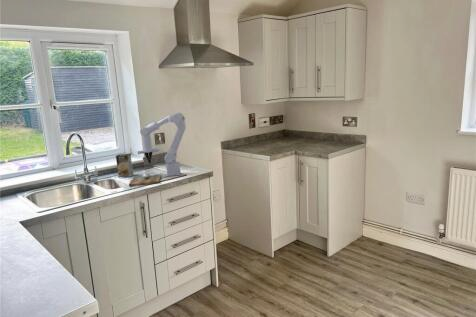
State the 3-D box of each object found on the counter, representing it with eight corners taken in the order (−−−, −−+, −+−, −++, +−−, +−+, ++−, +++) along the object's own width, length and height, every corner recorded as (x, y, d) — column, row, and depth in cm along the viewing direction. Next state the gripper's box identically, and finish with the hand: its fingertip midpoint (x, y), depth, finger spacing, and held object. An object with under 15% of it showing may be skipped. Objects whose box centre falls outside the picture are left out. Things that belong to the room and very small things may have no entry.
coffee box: (118, 177, 256) (114, 155, 253) (121, 175, 263) (118, 154, 259) (130, 176, 255) (127, 155, 252) (133, 174, 262) (130, 153, 258)
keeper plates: (150, 175, 249) (150, 175, 249) (149, 179, 238) (148, 179, 238) (144, 176, 249) (144, 175, 248) (142, 180, 237) (142, 179, 237)
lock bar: (147, 178, 238) (147, 174, 238) (143, 178, 238) (143, 175, 237) (149, 174, 248) (148, 171, 248) (145, 175, 248) (145, 171, 248)
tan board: (161, 175, 252) (161, 173, 252) (158, 183, 231) (158, 181, 231) (133, 178, 250) (133, 176, 250) (129, 186, 229) (128, 184, 228)
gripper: (157, 142, 254) (160, 160, 257) (136, 144, 251) (139, 163, 254) (157, 143, 247) (160, 162, 250) (136, 145, 244) (139, 165, 247)
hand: (149, 162), depth 252 cm, fingers closed
